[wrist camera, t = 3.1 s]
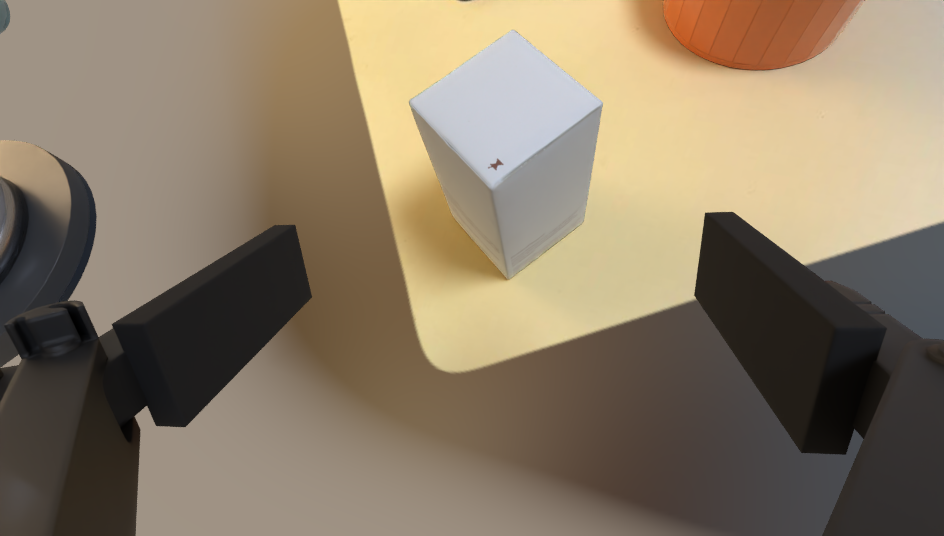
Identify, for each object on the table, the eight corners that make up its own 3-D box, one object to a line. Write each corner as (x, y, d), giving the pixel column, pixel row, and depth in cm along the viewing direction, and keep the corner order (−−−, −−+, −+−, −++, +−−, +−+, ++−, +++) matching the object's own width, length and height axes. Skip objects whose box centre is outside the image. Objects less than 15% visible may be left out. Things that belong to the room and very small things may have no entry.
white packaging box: (587, 222, 34) (610, 103, 22) (507, 283, 33) (488, 192, 21) (523, 159, 37) (514, 23, 25) (448, 213, 36) (403, 99, 24)
